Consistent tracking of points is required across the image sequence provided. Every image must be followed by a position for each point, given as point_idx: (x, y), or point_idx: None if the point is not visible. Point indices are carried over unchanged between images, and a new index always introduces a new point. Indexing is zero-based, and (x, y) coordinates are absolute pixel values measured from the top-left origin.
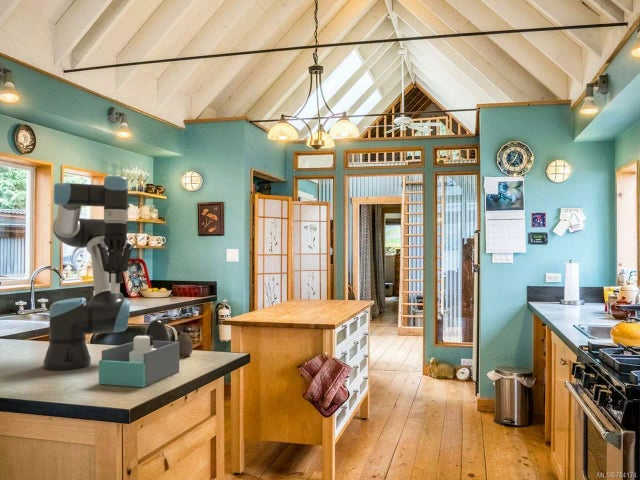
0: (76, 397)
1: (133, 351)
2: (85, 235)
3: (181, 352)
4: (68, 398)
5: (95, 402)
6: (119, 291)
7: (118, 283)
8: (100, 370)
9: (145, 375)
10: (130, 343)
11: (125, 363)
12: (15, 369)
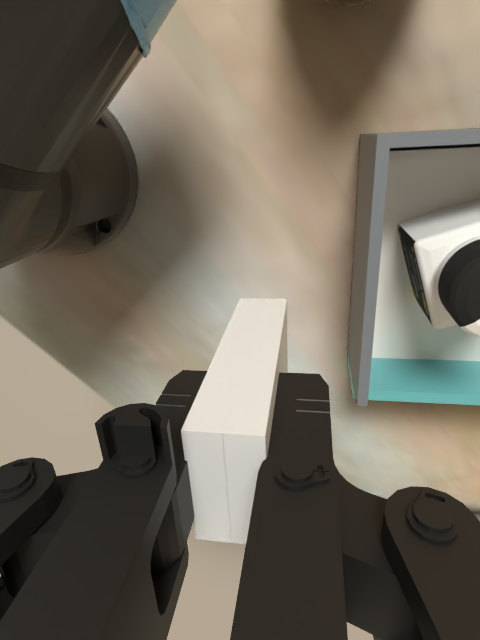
0: (369, 464)
1: (448, 313)
2: None
3: None
4: (355, 473)
5: (442, 488)
6: (285, 306)
7: (280, 371)
8: None
9: None
10: (382, 233)
11: (466, 403)
12: None
